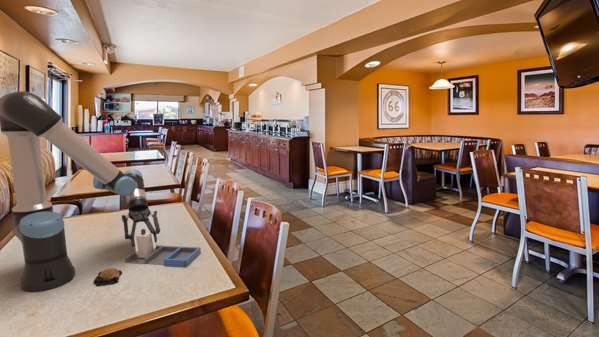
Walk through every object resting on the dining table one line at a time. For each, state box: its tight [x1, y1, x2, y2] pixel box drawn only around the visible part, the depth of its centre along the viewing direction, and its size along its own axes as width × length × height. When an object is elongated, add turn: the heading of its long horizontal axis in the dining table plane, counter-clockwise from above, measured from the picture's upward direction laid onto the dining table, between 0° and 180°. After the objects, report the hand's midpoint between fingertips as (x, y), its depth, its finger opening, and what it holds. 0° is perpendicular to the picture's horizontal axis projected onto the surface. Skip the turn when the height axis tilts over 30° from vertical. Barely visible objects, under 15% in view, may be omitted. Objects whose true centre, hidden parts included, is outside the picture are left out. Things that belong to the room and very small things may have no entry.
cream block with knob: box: [135, 228, 152, 258], centre depth 133 cm, size 4×4×11 cm
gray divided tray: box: [124, 244, 202, 268], centre depth 132 cm, size 14×25×3 cm, turn 83°
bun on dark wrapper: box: [93, 267, 123, 288], centre depth 116 cm, size 11×8×4 cm
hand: (145, 251), depth 130 cm, fingers closed on cream block with knob, 6 cm apart
